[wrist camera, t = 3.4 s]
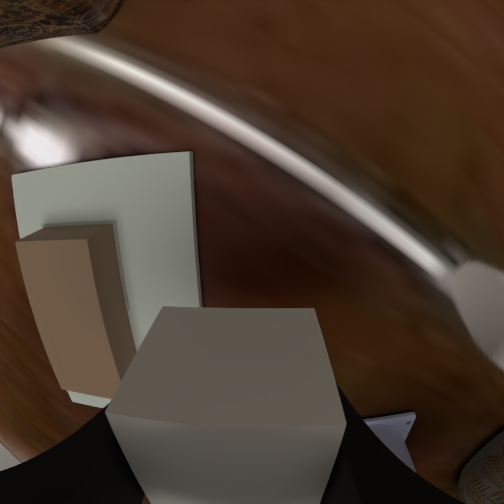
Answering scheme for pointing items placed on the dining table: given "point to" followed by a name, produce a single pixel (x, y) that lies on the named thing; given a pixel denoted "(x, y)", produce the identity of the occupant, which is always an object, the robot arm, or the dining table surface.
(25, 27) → the book
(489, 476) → the vase
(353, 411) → the robot arm
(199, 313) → the cream cube
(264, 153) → the dining table surface
